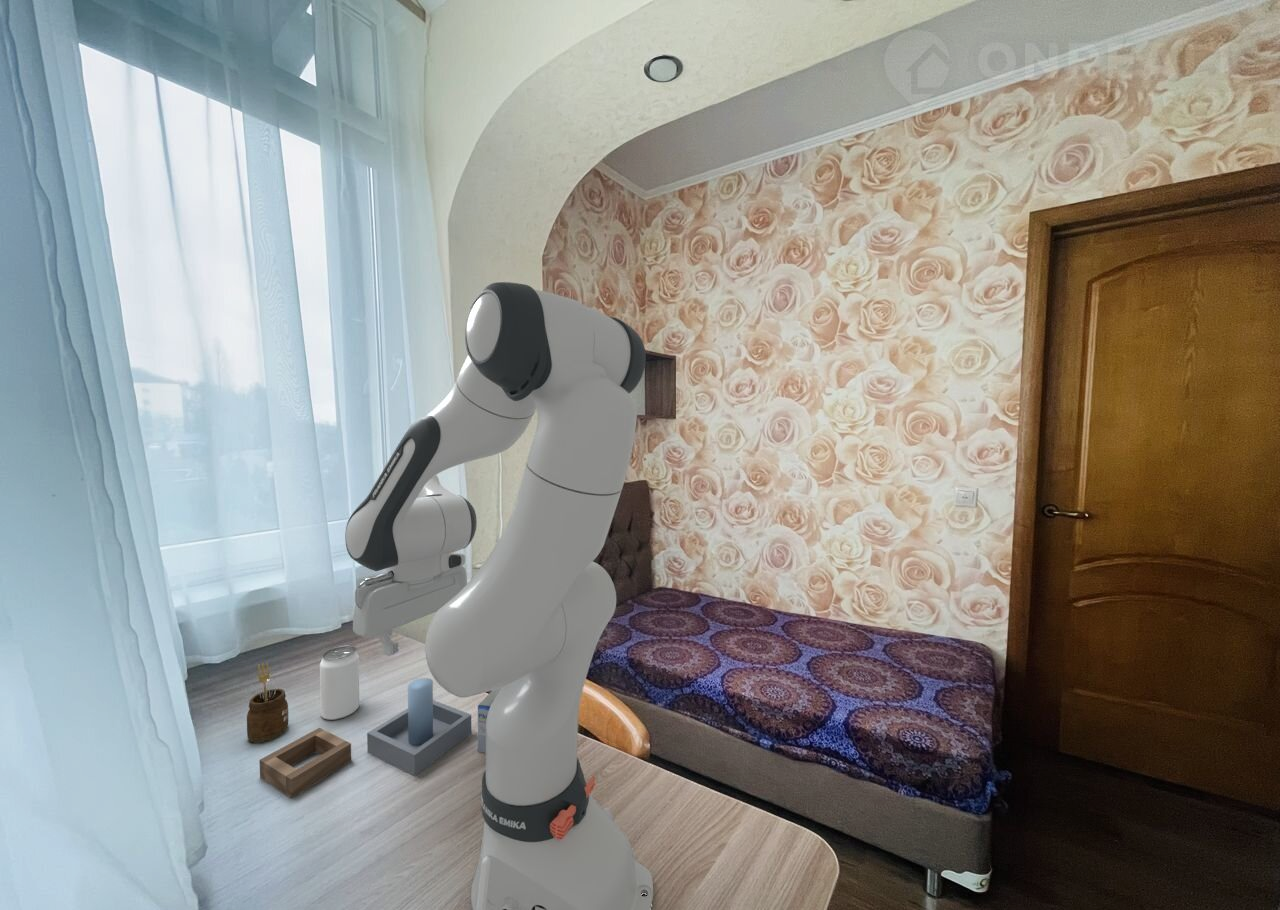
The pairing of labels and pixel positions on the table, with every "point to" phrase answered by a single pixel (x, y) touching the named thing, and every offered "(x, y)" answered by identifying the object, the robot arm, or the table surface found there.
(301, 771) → the collar
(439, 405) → the robot arm
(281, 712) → the utensil holder
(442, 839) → the table surface
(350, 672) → the can
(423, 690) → the dowel
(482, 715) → the medicine box
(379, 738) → the tray
